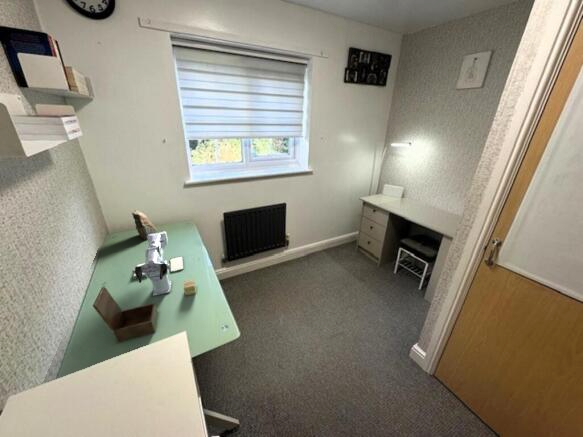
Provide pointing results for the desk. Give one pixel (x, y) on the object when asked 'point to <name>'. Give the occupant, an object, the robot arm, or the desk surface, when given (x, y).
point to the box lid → (107, 308)
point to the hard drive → (142, 273)
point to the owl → (143, 225)
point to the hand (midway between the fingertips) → (150, 279)
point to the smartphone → (176, 264)
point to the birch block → (189, 287)
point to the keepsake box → (136, 322)
